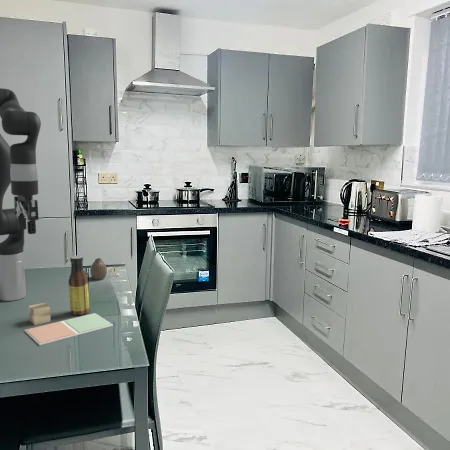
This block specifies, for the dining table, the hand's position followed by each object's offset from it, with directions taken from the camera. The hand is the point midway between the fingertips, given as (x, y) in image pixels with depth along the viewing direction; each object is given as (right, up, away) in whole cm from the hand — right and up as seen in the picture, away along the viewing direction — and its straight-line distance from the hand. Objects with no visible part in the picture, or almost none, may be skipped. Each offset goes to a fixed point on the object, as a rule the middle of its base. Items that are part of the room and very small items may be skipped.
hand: (27, 231), depth 138 cm
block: (+1, -29, +8) cm, 30 cm away
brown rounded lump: (+7, -21, +55) cm, 59 cm away
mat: (+12, -30, +2) cm, 33 cm away
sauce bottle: (+11, -28, +16) cm, 34 cm away
